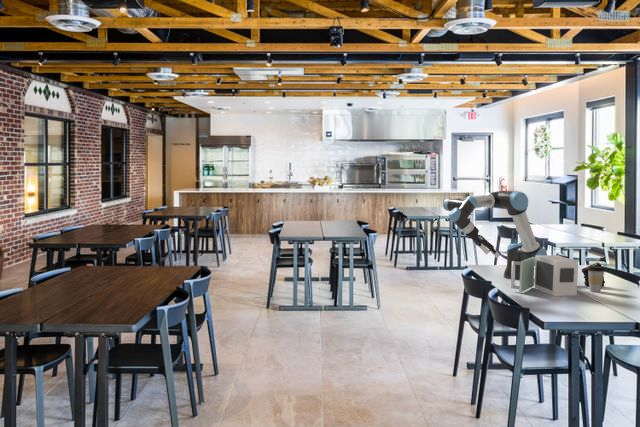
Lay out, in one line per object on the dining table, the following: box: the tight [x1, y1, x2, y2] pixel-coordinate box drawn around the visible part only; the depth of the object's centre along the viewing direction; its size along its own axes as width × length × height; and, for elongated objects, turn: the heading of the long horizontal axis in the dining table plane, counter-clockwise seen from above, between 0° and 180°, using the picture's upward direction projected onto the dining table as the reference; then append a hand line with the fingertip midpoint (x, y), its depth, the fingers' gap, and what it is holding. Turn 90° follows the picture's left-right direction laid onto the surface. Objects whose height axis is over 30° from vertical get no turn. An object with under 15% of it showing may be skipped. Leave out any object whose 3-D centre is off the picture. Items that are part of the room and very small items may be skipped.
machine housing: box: [533, 254, 579, 297], centre depth 331 cm, size 23×14×20 cm, turn 9°
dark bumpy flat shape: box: [581, 262, 606, 288], centre depth 348 cm, size 4×13×15 cm, turn 86°
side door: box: [510, 257, 535, 293], centre depth 334 cm, size 23×7×18 cm, turn 141°
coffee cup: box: [587, 265, 605, 294], centre depth 333 cm, size 9×9×15 cm
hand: (493, 254), depth 329 cm, fingers open, 13 cm apart
